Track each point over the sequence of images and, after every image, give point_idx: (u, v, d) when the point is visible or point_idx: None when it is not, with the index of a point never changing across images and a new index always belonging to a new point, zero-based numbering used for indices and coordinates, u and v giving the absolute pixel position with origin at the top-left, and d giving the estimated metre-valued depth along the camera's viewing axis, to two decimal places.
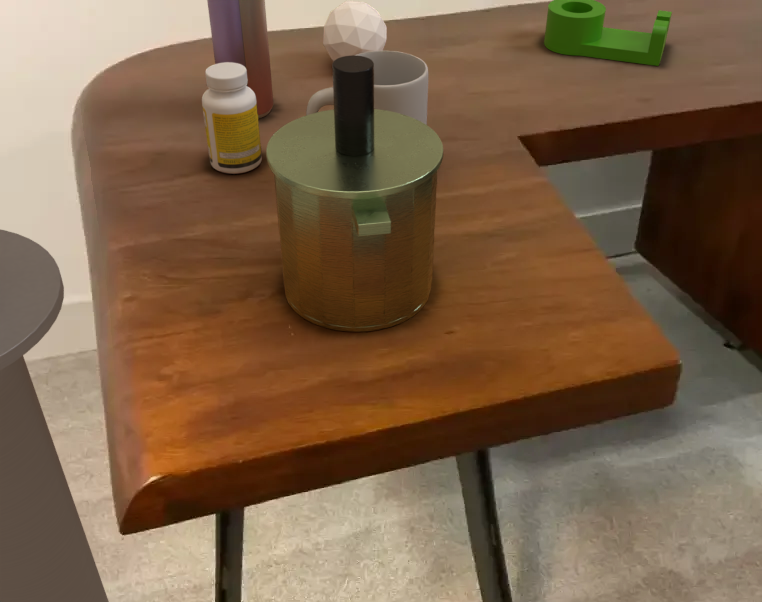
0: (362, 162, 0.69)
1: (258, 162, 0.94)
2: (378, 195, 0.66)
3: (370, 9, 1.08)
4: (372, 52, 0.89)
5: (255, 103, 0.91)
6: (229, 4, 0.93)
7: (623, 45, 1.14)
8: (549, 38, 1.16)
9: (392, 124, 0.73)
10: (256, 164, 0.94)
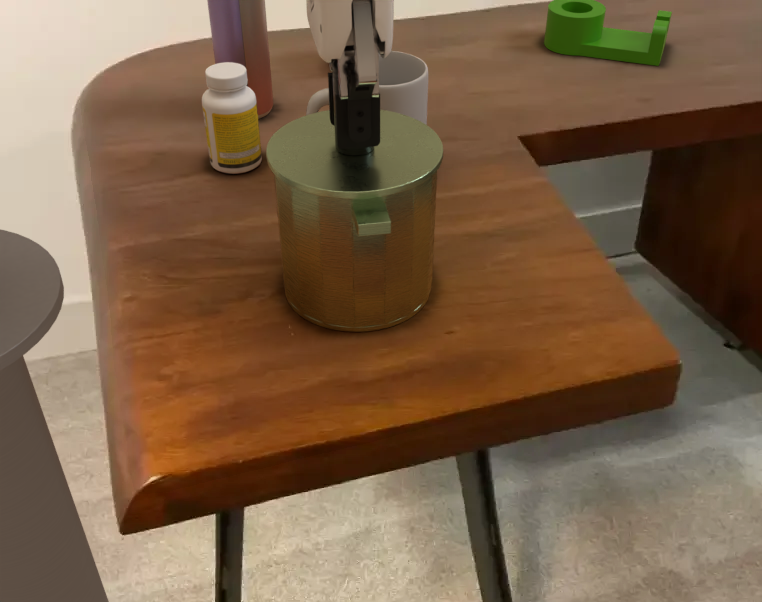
0: (362, 162, 0.69)
1: (258, 162, 0.94)
2: (378, 195, 0.66)
3: None
4: None
5: (255, 103, 0.91)
6: (229, 4, 0.93)
7: (623, 45, 1.14)
8: (549, 38, 1.16)
9: (392, 124, 0.73)
10: (256, 164, 0.94)
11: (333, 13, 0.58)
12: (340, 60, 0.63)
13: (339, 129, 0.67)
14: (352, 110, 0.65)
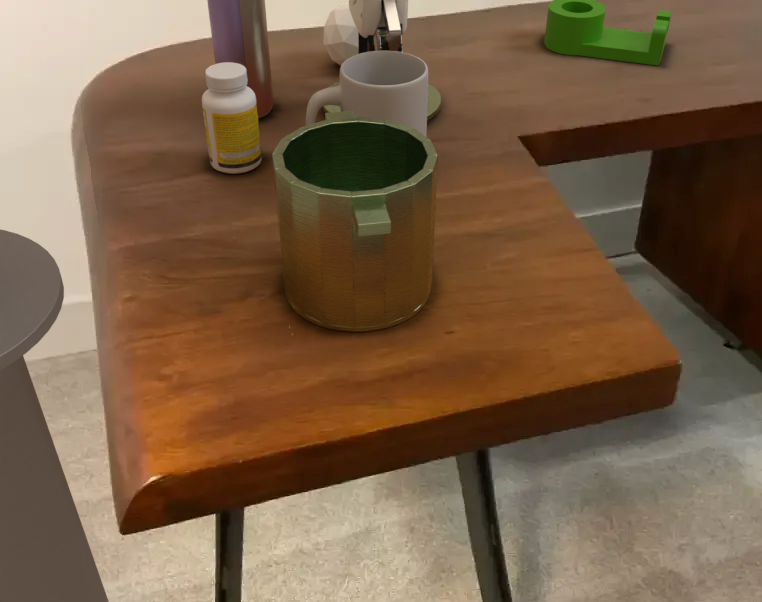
0: None
1: (258, 162, 0.94)
2: None
3: None
4: (372, 52, 0.89)
5: (255, 103, 0.91)
6: (229, 4, 0.93)
7: (624, 45, 1.14)
8: (549, 38, 1.16)
9: None
10: (256, 164, 0.94)
11: (369, 5, 0.92)
12: (375, 32, 0.94)
13: None
14: None
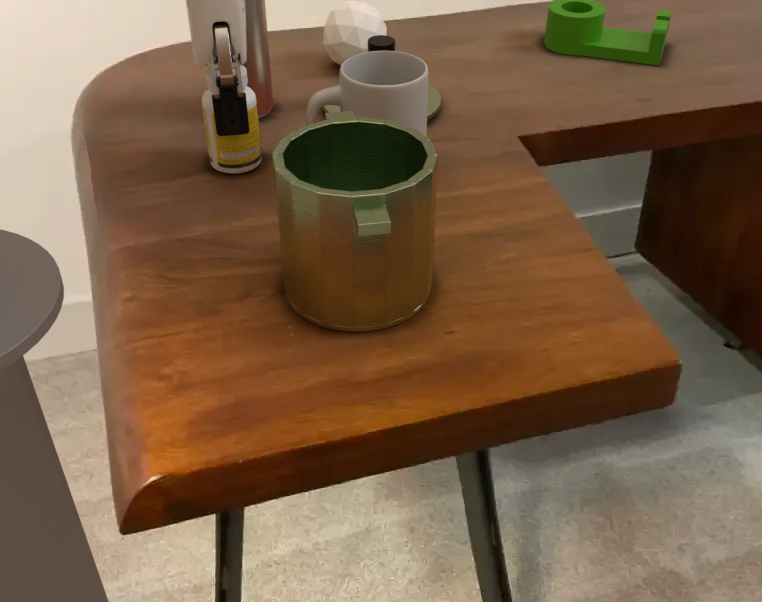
0: None
1: (258, 162, 0.94)
2: None
3: (370, 9, 1.08)
4: (372, 52, 0.89)
5: (255, 103, 0.91)
6: None
7: (624, 45, 1.14)
8: (549, 38, 1.16)
9: None
10: (256, 164, 0.94)
11: (199, 33, 0.81)
12: (211, 67, 0.85)
13: (216, 121, 0.88)
14: (224, 106, 0.87)
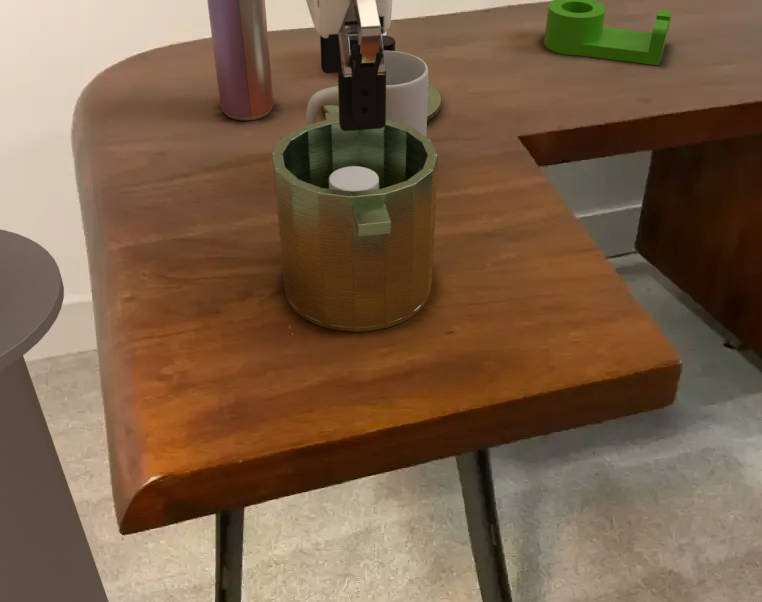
0: None
1: None
2: None
3: None
4: None
5: None
6: (229, 4, 0.93)
7: (624, 45, 1.14)
8: (549, 38, 1.16)
9: None
10: None
11: None
12: (341, 29, 0.60)
13: (342, 109, 0.63)
14: (356, 89, 0.61)
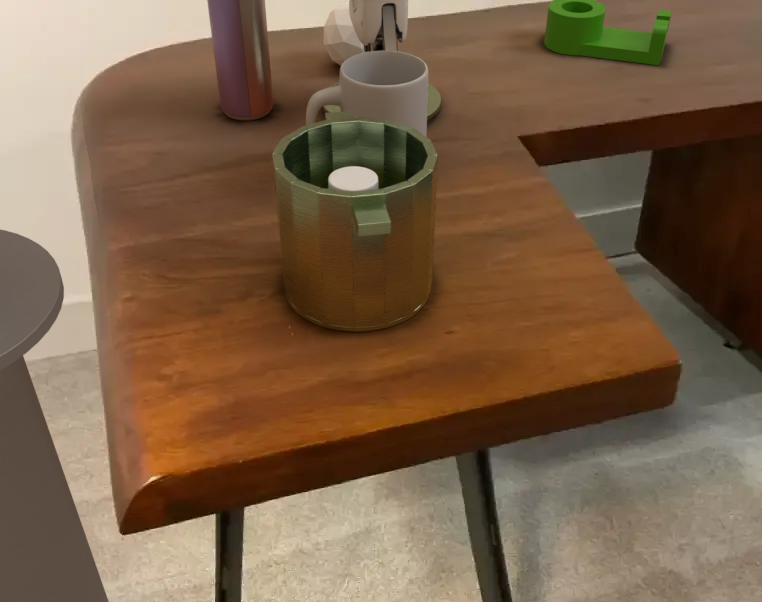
0: None
1: None
2: None
3: None
4: (372, 52, 0.89)
5: None
6: (229, 4, 0.93)
7: (624, 45, 1.14)
8: (549, 38, 1.16)
9: None
10: None
11: (370, 13, 0.92)
12: (373, 44, 0.97)
13: None
14: None
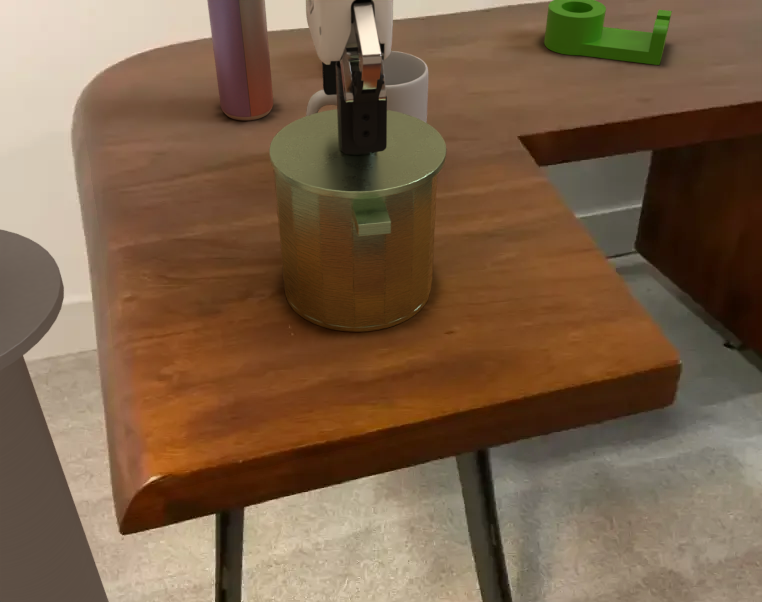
0: (365, 162, 0.69)
1: None
2: (381, 195, 0.66)
3: None
4: None
5: None
6: (229, 4, 0.93)
7: (624, 45, 1.14)
8: (549, 38, 1.16)
9: (395, 124, 0.73)
10: None
11: (332, 15, 0.58)
12: (342, 56, 0.61)
13: (344, 133, 0.64)
14: (357, 114, 0.62)
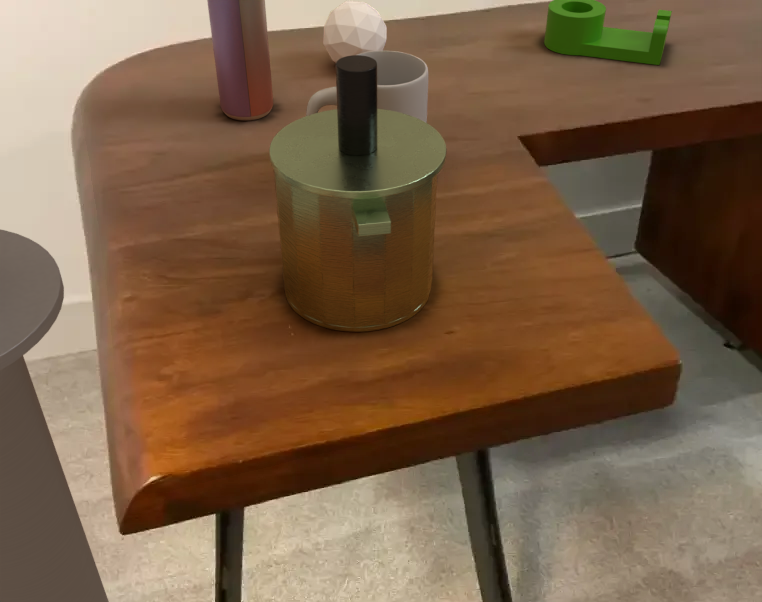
0: (365, 162, 0.69)
1: None
2: (381, 195, 0.66)
3: (370, 9, 1.08)
4: (372, 52, 0.89)
5: None
6: (229, 4, 0.93)
7: (624, 45, 1.14)
8: (549, 38, 1.16)
9: (395, 124, 0.73)
10: None
11: None
12: None
13: None
14: None
